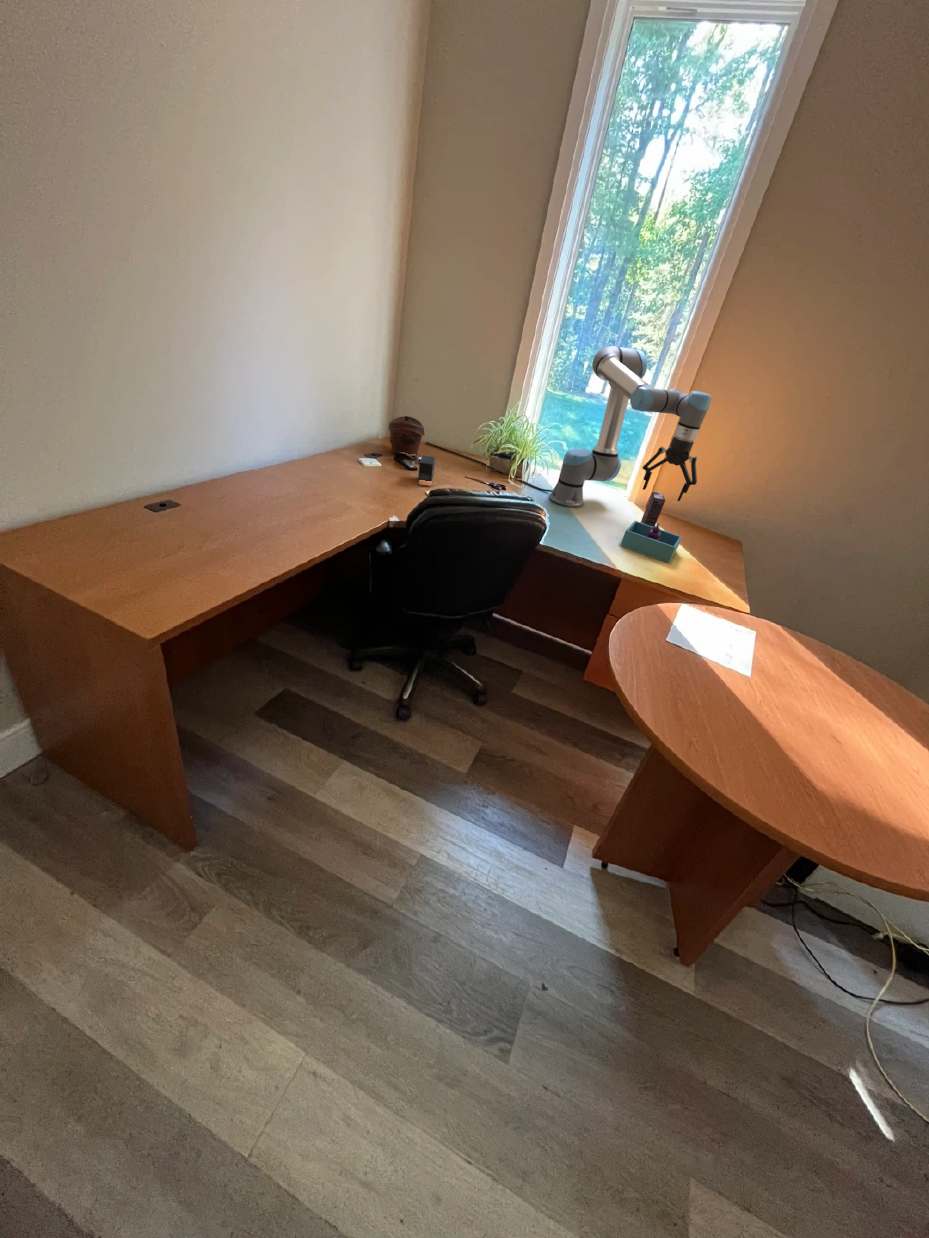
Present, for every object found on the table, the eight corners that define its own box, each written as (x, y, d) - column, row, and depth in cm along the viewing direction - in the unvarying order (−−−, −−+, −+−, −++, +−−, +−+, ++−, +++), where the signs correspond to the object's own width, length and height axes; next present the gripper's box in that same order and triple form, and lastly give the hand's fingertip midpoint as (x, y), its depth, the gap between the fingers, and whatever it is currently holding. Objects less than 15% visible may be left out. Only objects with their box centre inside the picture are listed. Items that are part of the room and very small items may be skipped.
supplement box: (651, 535, 211) (665, 500, 202) (640, 532, 211) (654, 497, 202) (649, 527, 218) (663, 493, 209) (639, 525, 218) (651, 491, 209)
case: (407, 446, 263) (410, 411, 253) (429, 458, 252) (433, 422, 241) (379, 449, 253) (380, 412, 242) (400, 461, 241) (403, 424, 231)
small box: (419, 477, 227) (421, 454, 221) (433, 479, 228) (436, 456, 222) (416, 484, 219) (419, 461, 213) (431, 487, 219) (433, 464, 213)
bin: (620, 545, 197) (625, 530, 193) (629, 535, 207) (634, 520, 203) (668, 563, 190) (675, 547, 186) (675, 551, 200) (682, 536, 196)
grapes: (640, 546, 197) (650, 522, 191) (644, 542, 200) (653, 519, 194) (653, 551, 195) (663, 527, 189) (657, 547, 199) (666, 523, 193)
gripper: (647, 430, 178) (627, 486, 190) (717, 450, 169) (692, 507, 181) (652, 427, 183) (632, 482, 196) (720, 446, 175) (695, 502, 187)
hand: (661, 494), depth 189 cm, fingers open, 13 cm apart
